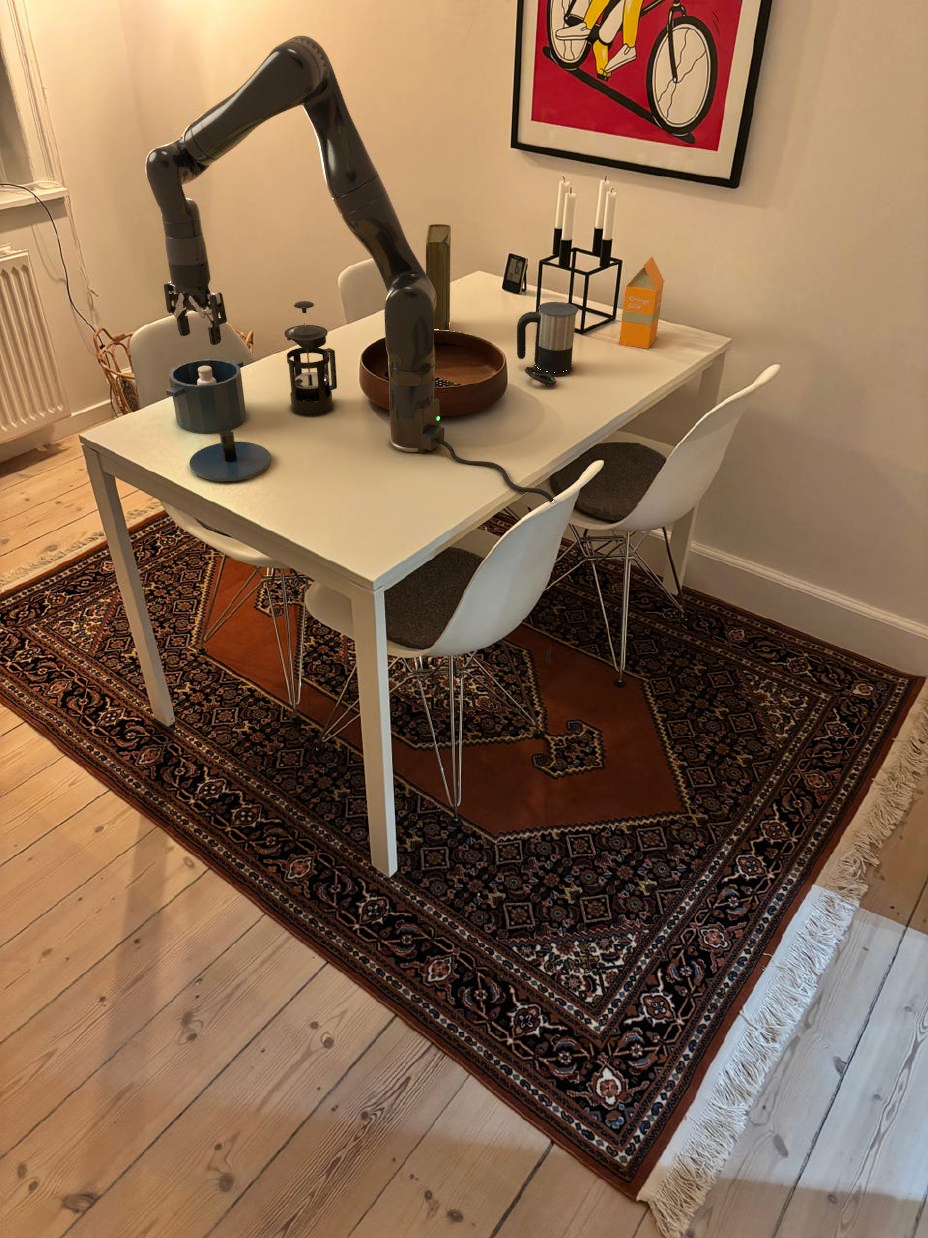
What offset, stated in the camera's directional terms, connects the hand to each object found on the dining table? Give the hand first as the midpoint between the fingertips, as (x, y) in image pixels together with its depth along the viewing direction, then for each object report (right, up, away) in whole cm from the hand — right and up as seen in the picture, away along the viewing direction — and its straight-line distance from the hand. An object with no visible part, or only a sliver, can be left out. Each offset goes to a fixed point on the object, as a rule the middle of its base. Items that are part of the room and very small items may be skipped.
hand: (200, 339), depth 196 cm
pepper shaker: (0, -14, +10) cm, 17 cm away
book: (+47, +16, +53) cm, 72 cm away
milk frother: (+74, +1, +32) cm, 80 cm away
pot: (0, -14, +10) cm, 17 cm away
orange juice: (+98, +14, +51) cm, 112 cm away
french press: (+21, -10, +16) cm, 28 cm away
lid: (+8, -26, -7) cm, 28 cm away
